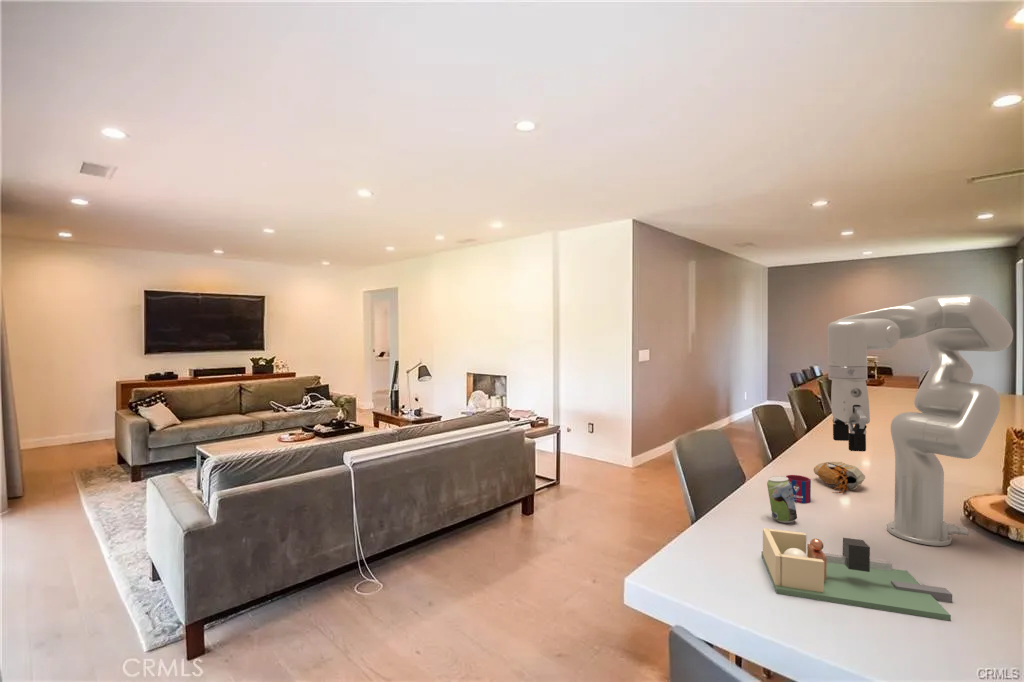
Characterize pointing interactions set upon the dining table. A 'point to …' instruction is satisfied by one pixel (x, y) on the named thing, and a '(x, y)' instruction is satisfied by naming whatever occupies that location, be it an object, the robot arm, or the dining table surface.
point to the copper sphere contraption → (848, 556)
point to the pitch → (847, 581)
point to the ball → (795, 552)
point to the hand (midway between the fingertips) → (848, 445)
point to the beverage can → (781, 499)
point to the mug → (800, 488)
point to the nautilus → (840, 475)
